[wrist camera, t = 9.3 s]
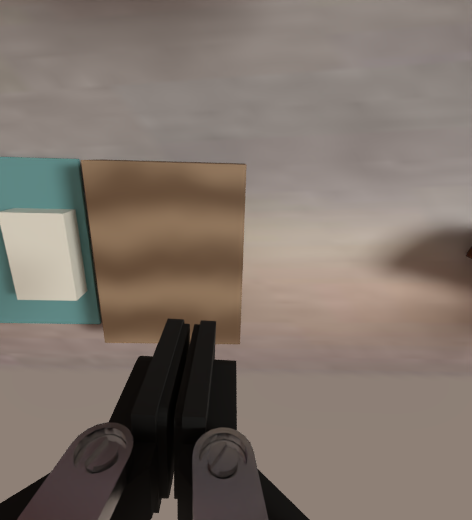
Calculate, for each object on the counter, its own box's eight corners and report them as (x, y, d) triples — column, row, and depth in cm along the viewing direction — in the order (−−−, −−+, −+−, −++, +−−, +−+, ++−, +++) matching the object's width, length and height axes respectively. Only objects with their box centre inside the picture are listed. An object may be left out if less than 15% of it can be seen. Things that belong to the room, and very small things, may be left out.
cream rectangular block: (62, 213, 28) (75, 209, 30) (-3, 212, 28) (14, 207, 30) (76, 300, 31) (87, 290, 33) (17, 299, 31) (32, 290, 33)
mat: (-48, 155, 29) (-52, 155, 29) (79, 159, 29) (77, 159, 29) (-5, 320, 35) (-7, 322, 34) (101, 322, 35) (99, 324, 35)
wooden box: (100, 159, 29) (80, 160, 26) (244, 163, 30) (246, 164, 26) (118, 322, 35) (105, 342, 31) (238, 324, 36) (239, 344, 32)
